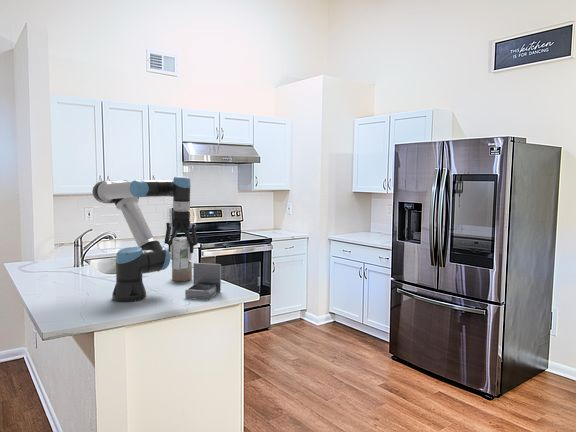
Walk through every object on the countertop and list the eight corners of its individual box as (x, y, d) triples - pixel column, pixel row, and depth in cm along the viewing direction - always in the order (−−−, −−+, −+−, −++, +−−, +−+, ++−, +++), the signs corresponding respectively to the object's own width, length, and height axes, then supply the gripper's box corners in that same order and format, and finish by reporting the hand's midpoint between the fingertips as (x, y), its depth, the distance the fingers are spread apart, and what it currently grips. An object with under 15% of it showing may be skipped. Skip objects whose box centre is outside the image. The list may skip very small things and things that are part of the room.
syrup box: (181, 266, 216) (182, 236, 215) (189, 268, 212) (190, 237, 211) (171, 268, 212) (172, 237, 210) (179, 270, 208) (180, 238, 206)
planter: (177, 282, 247) (177, 265, 246) (168, 279, 255) (168, 262, 254) (195, 280, 254) (195, 263, 253) (185, 276, 262) (186, 260, 261)
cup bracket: (182, 297, 218) (183, 268, 217) (194, 289, 234) (194, 262, 232) (211, 299, 216) (211, 270, 215) (220, 291, 232) (221, 264, 230)
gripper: (156, 210, 207) (156, 259, 209) (200, 212, 204) (199, 262, 206) (163, 208, 214) (163, 256, 217) (205, 210, 212) (204, 259, 214)
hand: (180, 259), depth 211 cm, fingers closed on syrup box, 8 cm apart
